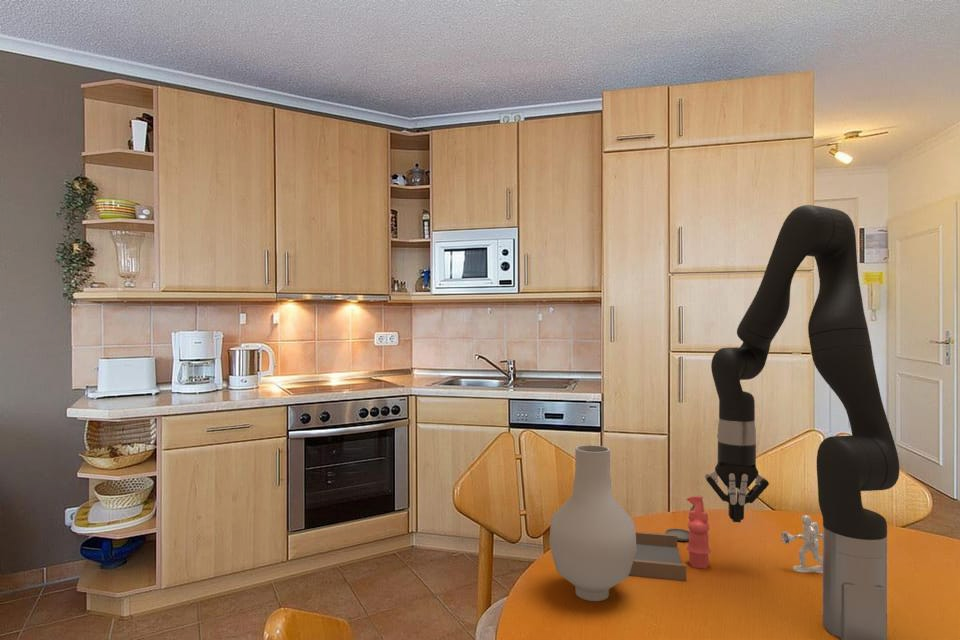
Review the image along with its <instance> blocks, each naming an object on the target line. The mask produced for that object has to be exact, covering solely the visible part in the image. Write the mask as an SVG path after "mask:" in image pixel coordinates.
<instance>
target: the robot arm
mask: <svg viewBox="0 0 960 640" xmlns="http://www.w3.org/2000/svg"><path fill="white" fill-rule="evenodd" d="M856 238H857V237H856V229H855V226H854V223H853V220H852V219H851V217H850V215H848V214H847V213H846V212H845V211H843V210H840V209H837V208H831V207H825V206H818V205H813V204H804V205H801V206H798V207H795V208H794V209H793V210H792V211H791V212H790V213H789V214H788V215H787V216H786V218H785V219H784V221H783V223H782V225H781V227H780V230H779V233H778V236H777V238H776V240H775V244H774V246H773V249H772V251H771V254H770V257H769V260H768V262H767V265H766V268H765V271H764V274H763V276H762V279H761V281H760V284H759V286H758V289H757V291H756V294H755V296H754V298H753V299H752V302H750V305H749V306H748V308H747V310H746V312H745V314H744V315H743V317H742V319H741V321H740V322H739V324H738V326H737V329H736V335H737V337H738V338H739V339H740V341H742V344H741V345H740V347H738V346H737V347H734V346H733V347H722V348H720V349H718V350H716V351H715V353H714V354H713V357H712V359H711V374H712V378H713V383H714V386H715V390H716V393H717V397H718V400H719V401H718V409H719V410H718V424H717V435H716V438H717V463H716V466H715V468H714V471H712V472H711V473H710V474H706V475H705V476H704V477H705V480H706V481H707V483H708V484H709V486H710V487H711V488H712V489H713V491H714V492H715V493H716V494H717V497H719V498H720V499H721V501H722V502H725V503H727V504H728V516H729V519H730V520H731V521H732V522H733V523H741V522H742V521H743V520H744V518H745V505H747V504H752V503H754V502H755V501H756V500H757V499H758V498H759V496H761V495H762V493H763V492H764V491H765V490H766V489H767V488H768V486H769V485H770V482H769V481H768V480H767V479H766V478H765V477H763V476H761V475H760V474H759V470H758V468H757V461H756V460H757V431H756V430H757V429H756V428H757V427H756V421H755V420H756V418H755V417H756V414H755V413H756V411H755V409H756V408H755V407H756V406H755V404H756V403H755V397H754V395H753V394H752V393H751V392H747V391H746V390H745V391H744V390H743V387H742V385H741V381H745V380H746V381H749V380H752V379H754V378H756V377H757V376H759V374H760V373H762V372H763V369H764V368H765V366H766V363H767V360H768V355H769V352H770V349H771V343H772V341H773V340H774V339H775V336H776V335H777V333H778V332H779V330H780V328H781V327H782V325H783V323H784V321H786V318H787V316H788V313H789V311H790V304H791V301H790V300H791V286H792V282H793V278H794V275H795V274H796V271H797V270H798V268H799V266H800V265H801V264H802V262H803V261H804V260H805V259H806V257H813V258H814V259H815V262H816V267H817V272H818V279H819V290H818V294H817V296H816V300H815V302H814V305H813V307H812V311H811V313H810V316H809V320H808V323H807V325H808V326H807V332H808V339H809V340H808V341H809V345H810V352H811V358H812V361H813V364H814V366H815V369H816V370H817V371H818V373H819V375H821V377H822V379H823V380H824V382H825V383H826V384H827V385H828V386H829V388H831V390H832V392H834V394H835V395H836V397H838V399H839V400H840V402H841V404H842V405H843V407H844V410H845V411H846V414H847V417H848V421H849V425H850V430H851V435H833V436H827V437H826V438H824V439H823V440H822V441H821V442H820V444H819V446H818V449H817V453H816V477H817V497H818V498H817V499H818V506H819V511H820V512H821V515H822V534H823V539H822V558H823V574H822V626H823V628H824V629H825V630H826V631H827V632H829V634H831V635H833V636H834V637H836V638H839V639H841V640H887V639H888V619H887V618H888V523H887V520H886V518H885V517H884V516H883V515H881V514H879V513H878V512H876V511H874V510H871V509H867V508H866V507H865V508H864V506H863V502H862V493H861V492H869V491H870V492H871V491H872V492H874V491H885V490H889V489H891V488H893V487H894V486H895V485H896V484H897V482H898V480H899V477H900V460H899V454H898V450H897V447H896V444H895V440H894V436H893V433H892V431H891V427H890V424H889V421H888V417H887V415H886V411H885V407H884V404H883V401H882V400H883V399H882V397H881V391H880V387H879V382H878V379H877V372H876V369H875V363H874V357H873V349H872V344H871V338H870V333H869V327H868V323H867V319H866V315H865V309H864V303H863V298H862V297H863V296H862V291H861V285H860V279H859V269H858V254H857V252H858V251H857V250H858V249H857V239H856ZM718 477H719V479H720V480H721V481H722V483H723V484H724V486H725V487H726V490H727V494H726V493H725V492H724V491H723V490H722V488H721V487H720V486H719V485H718V483H719V479H718ZM753 482H754V484H755V485H753V486H752V487H751V489H750V490H749V491H748V492H747V489H748V488H749V487H750V486H751V485H752V484H753Z"/></svg>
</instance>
